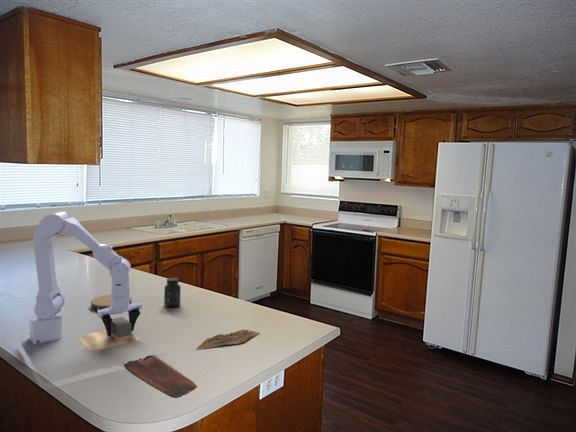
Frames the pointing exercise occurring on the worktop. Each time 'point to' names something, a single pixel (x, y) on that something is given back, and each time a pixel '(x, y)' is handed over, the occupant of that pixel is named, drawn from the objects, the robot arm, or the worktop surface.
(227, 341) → the wooden fragment
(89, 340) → the oak board
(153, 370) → the wooden tablet
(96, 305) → the wood log slice
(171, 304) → the supplement bottle
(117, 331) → the block
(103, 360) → the worktop surface
